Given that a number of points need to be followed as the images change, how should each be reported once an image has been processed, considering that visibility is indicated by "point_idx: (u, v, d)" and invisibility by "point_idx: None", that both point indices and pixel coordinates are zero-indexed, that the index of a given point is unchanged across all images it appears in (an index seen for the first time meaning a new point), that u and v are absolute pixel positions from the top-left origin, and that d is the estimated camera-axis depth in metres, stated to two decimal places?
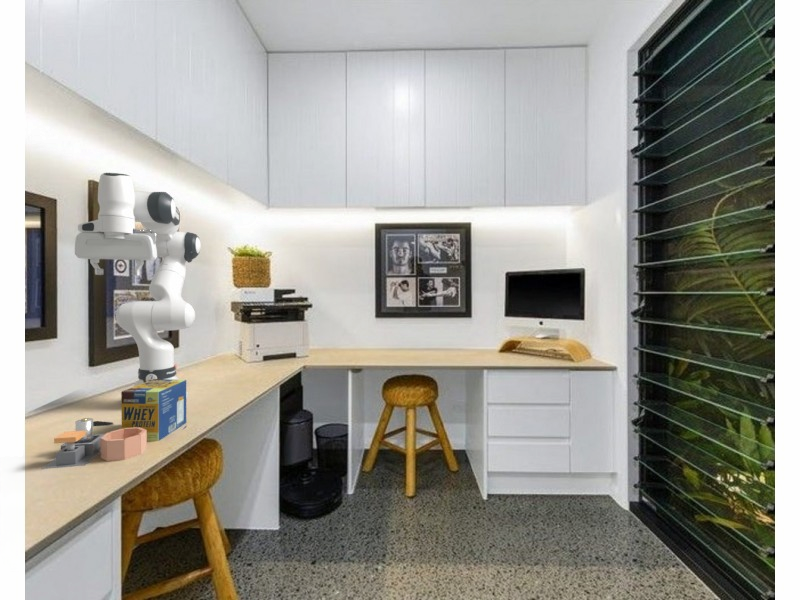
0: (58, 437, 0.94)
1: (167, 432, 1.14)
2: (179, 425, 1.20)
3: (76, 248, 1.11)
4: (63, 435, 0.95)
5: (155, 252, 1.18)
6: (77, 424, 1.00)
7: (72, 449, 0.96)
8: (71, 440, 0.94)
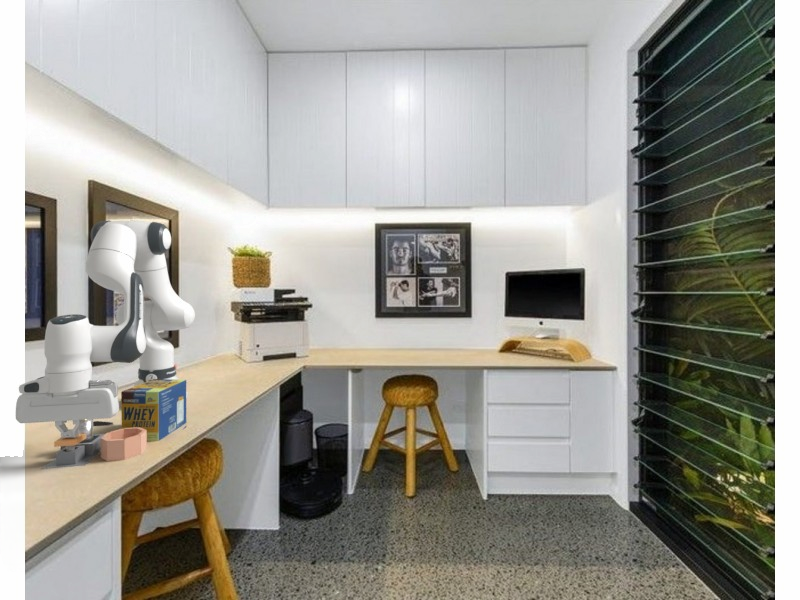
0: (58, 440, 0.94)
1: (167, 432, 1.14)
2: (179, 425, 1.20)
3: (17, 413, 0.91)
4: None
5: (116, 406, 0.98)
6: None
7: None
8: (71, 443, 0.94)
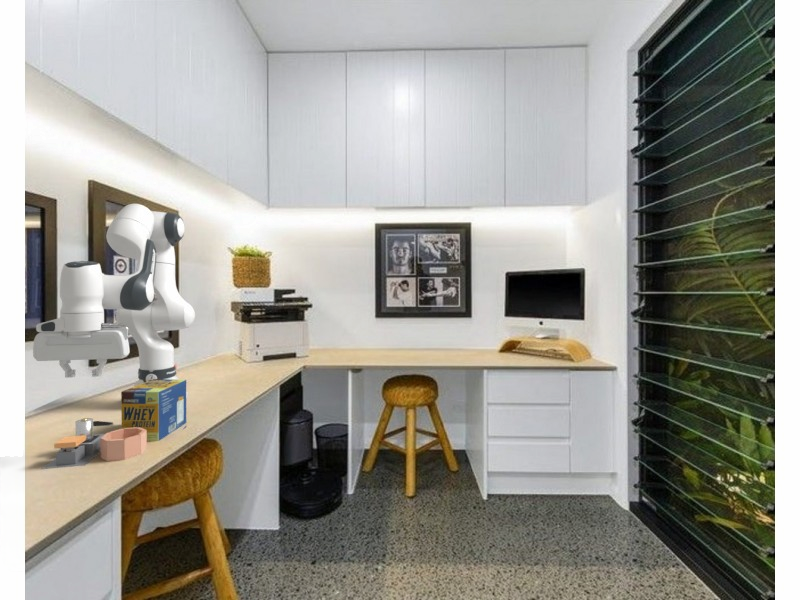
0: (58, 442, 0.94)
1: (167, 432, 1.14)
2: (179, 425, 1.20)
3: (35, 350, 0.97)
4: (63, 440, 0.95)
5: (127, 348, 1.04)
6: (77, 424, 1.00)
7: None
8: (71, 445, 0.94)
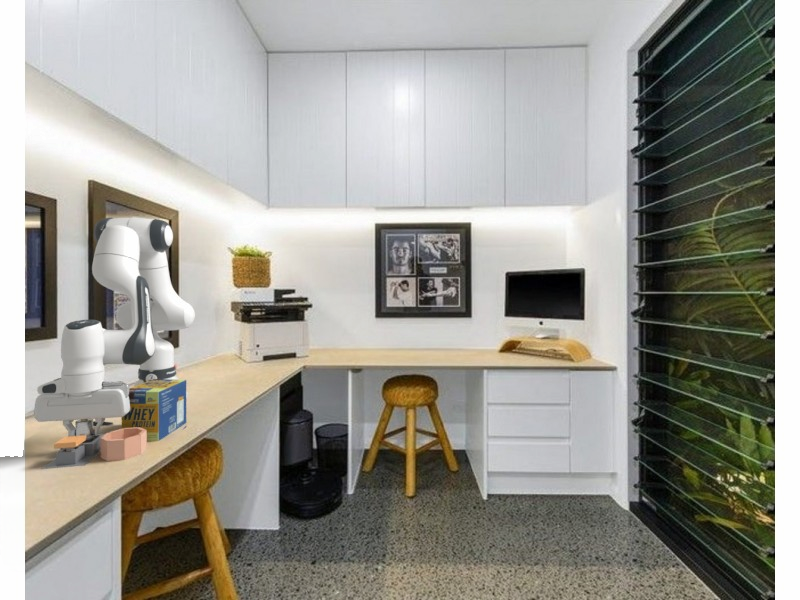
0: (58, 442, 0.94)
1: (167, 432, 1.14)
2: (179, 425, 1.20)
3: (36, 412, 0.98)
4: (63, 440, 0.95)
5: (128, 406, 1.05)
6: (77, 424, 1.00)
7: None
8: (71, 445, 0.94)
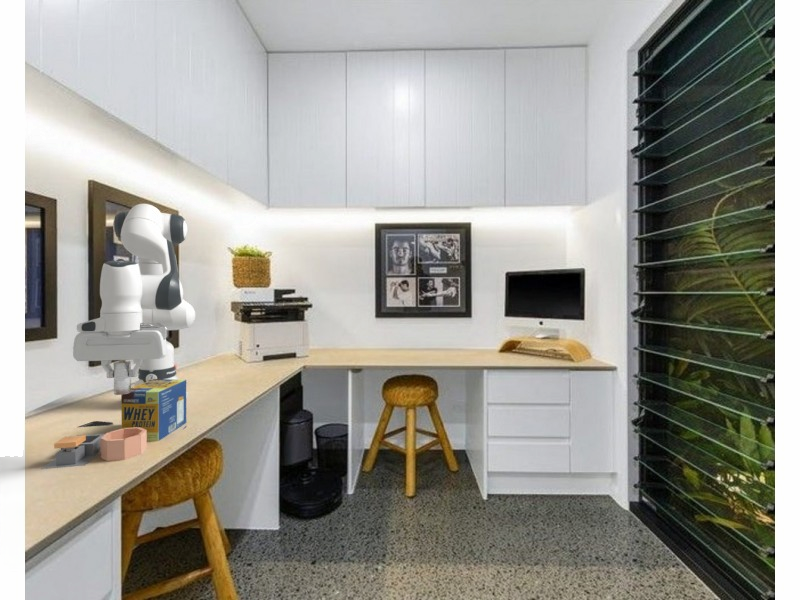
0: (58, 442, 0.94)
1: (167, 432, 1.14)
2: (179, 425, 1.20)
3: (75, 351, 0.96)
4: (63, 440, 0.95)
5: (165, 348, 1.03)
6: (115, 365, 0.99)
7: None
8: (71, 445, 0.94)
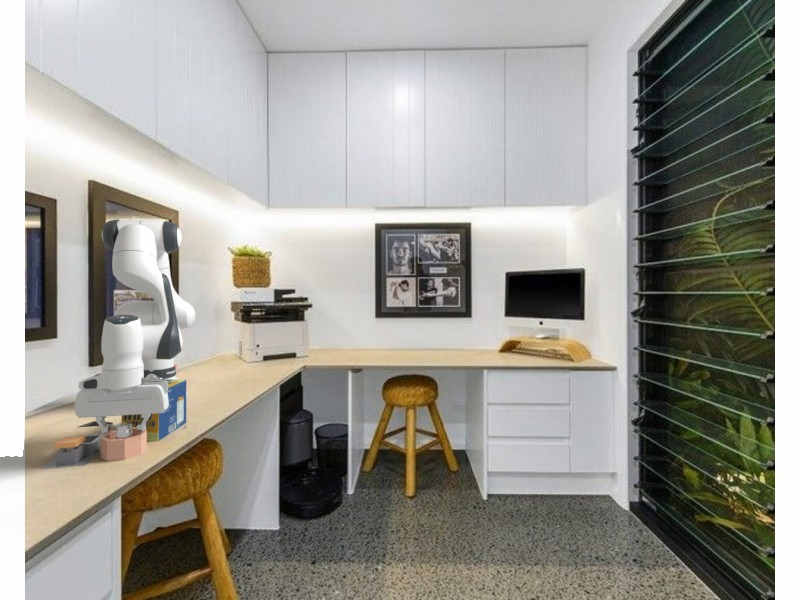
0: (58, 442, 0.94)
1: (167, 432, 1.14)
2: (179, 425, 1.20)
3: (77, 408, 0.97)
4: (63, 440, 0.95)
5: (167, 402, 1.04)
6: (117, 428, 0.99)
7: None
8: (71, 445, 0.94)
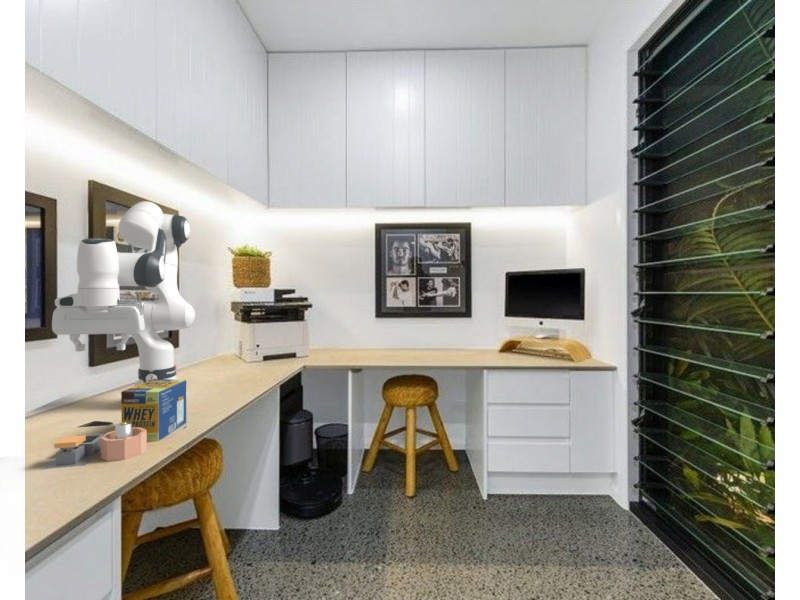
0: (58, 442, 0.94)
1: (167, 432, 1.14)
2: (179, 425, 1.20)
3: (53, 324, 1.00)
4: (63, 440, 0.95)
5: (142, 324, 1.07)
6: (117, 428, 0.99)
7: None
8: (71, 445, 0.94)
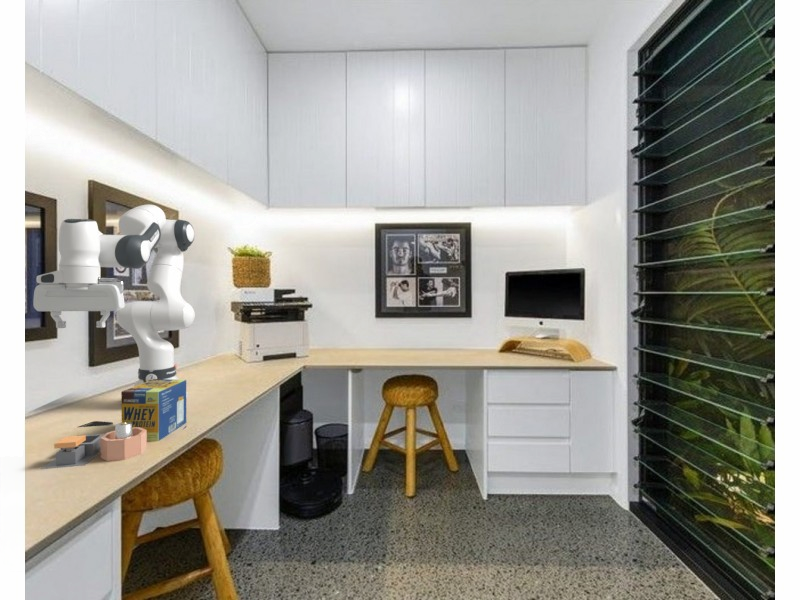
0: (58, 442, 0.94)
1: (167, 432, 1.14)
2: (179, 425, 1.20)
3: (35, 301, 1.03)
4: (63, 440, 0.95)
5: (122, 302, 1.10)
6: (117, 428, 0.99)
7: None
8: (71, 445, 0.94)
